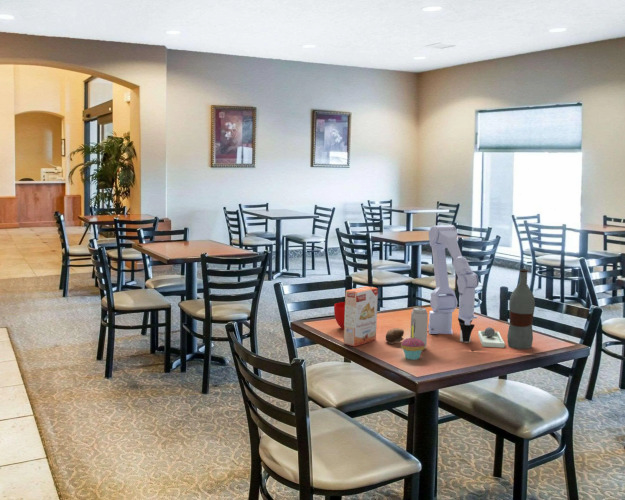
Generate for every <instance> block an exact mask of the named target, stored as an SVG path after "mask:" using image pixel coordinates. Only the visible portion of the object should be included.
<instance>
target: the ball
mask: <svg viewBox="0 0 625 500" xmlns="http://www.w3.org/2000/svg"><path fill="white" fill-rule="evenodd" d="M483 331H484V333H485V335H486V336H487V337H493V336H494V334H495V332H496V331H495V329H494V328H493V327H490V326H489V327H488V326H487V327H486V328H485V329H484V330H483Z"/></svg>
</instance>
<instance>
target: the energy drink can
mask: <svg viewBox="0 0 625 500" xmlns="http://www.w3.org/2000/svg"><path fill="white" fill-rule="evenodd" d="M428 314H429V313H428V311H427V308H424V307H414V308H412V310H411V314H410V337H409V338H412V323H413V326H414V338H417V339H420V340H421V341H423V342H424V343H425V348H426V347H427V344H428V343H427V342H428V340H427V339H428V321H429V315H428Z"/></svg>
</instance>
